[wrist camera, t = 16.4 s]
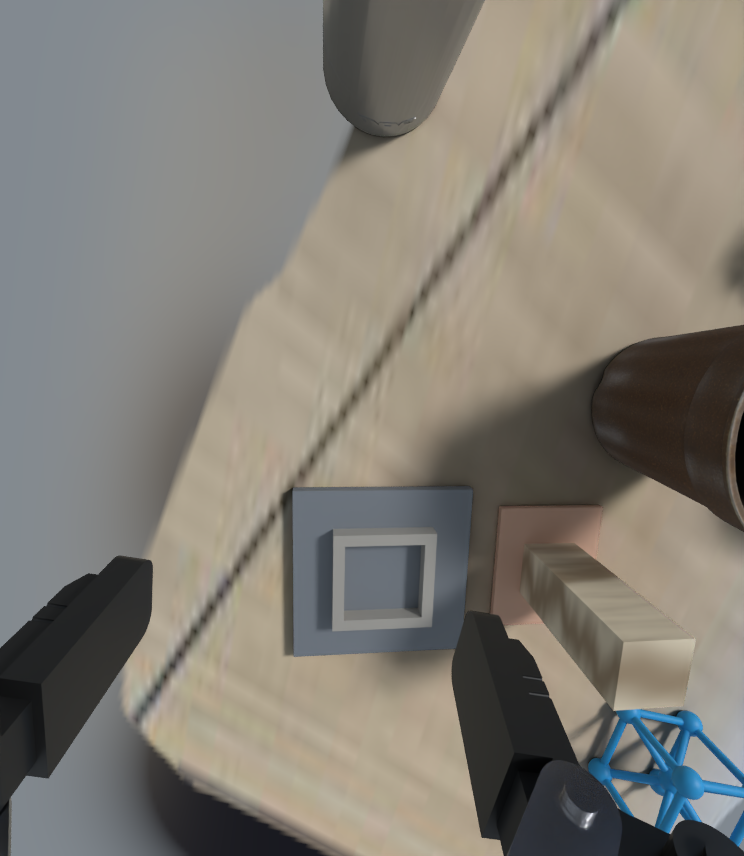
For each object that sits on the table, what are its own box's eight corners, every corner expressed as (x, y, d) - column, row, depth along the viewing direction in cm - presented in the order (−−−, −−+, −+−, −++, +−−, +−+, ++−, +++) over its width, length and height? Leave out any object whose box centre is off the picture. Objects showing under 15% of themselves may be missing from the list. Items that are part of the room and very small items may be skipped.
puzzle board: (293, 487, 38) (291, 497, 36) (469, 486, 40) (478, 495, 38) (294, 649, 41) (292, 668, 39) (458, 641, 43) (466, 659, 41)
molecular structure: (615, 690, 46) (693, 782, 37) (693, 707, 48) (788, 799, 38) (580, 768, 48) (646, 877, 38) (657, 782, 49) (739, 890, 40)
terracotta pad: (499, 506, 41) (501, 508, 40) (599, 504, 42) (603, 507, 41) (489, 621, 43) (491, 625, 42) (584, 617, 44) (588, 621, 44)
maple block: (524, 543, 41) (623, 642, 28) (574, 542, 42) (695, 638, 28) (519, 592, 42) (613, 710, 28) (568, 590, 43) (683, 706, 29)
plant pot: (691, 276, 39) (943, 228, 23) (756, 423, 42) (1014, 470, 26) (538, 378, 39) (683, 400, 23) (616, 517, 42) (788, 618, 27)
